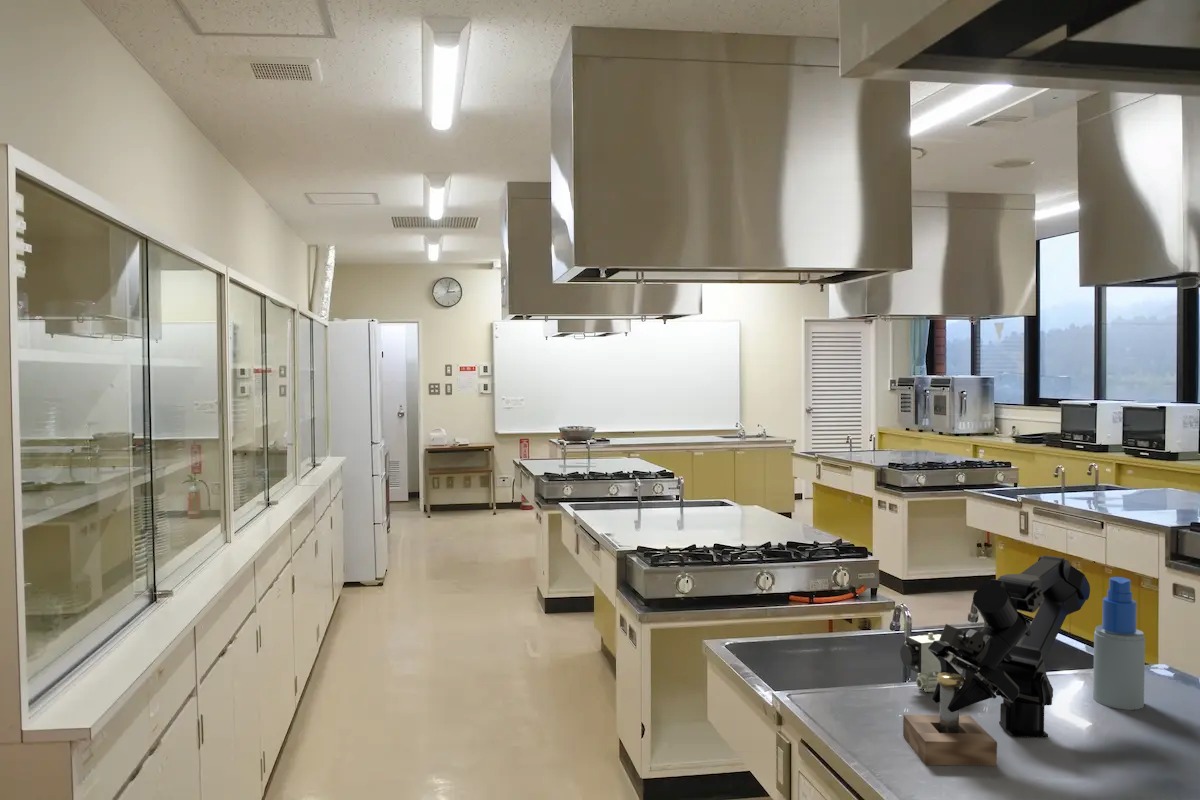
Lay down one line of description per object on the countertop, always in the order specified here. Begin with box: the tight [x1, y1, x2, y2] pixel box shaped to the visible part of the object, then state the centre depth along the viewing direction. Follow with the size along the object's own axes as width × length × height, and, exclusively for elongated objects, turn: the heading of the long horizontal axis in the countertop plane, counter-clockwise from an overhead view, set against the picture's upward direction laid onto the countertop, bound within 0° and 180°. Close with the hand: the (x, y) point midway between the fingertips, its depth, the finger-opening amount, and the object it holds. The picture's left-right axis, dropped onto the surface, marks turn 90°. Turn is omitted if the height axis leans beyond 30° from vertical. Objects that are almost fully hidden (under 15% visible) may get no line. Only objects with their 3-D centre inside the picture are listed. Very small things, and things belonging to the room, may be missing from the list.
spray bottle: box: [1092, 576, 1146, 711], centre depth 182 cm, size 9×9×25 cm
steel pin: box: [936, 672, 964, 733], centre depth 158 cm, size 4×4×13 cm
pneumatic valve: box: [899, 632, 962, 693], centre depth 189 cm, size 6×12×12 cm, turn 105°
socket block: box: [902, 714, 998, 767], centre depth 158 cm, size 12×12×4 cm
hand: (941, 705), depth 158 cm, fingers open, 4 cm apart
